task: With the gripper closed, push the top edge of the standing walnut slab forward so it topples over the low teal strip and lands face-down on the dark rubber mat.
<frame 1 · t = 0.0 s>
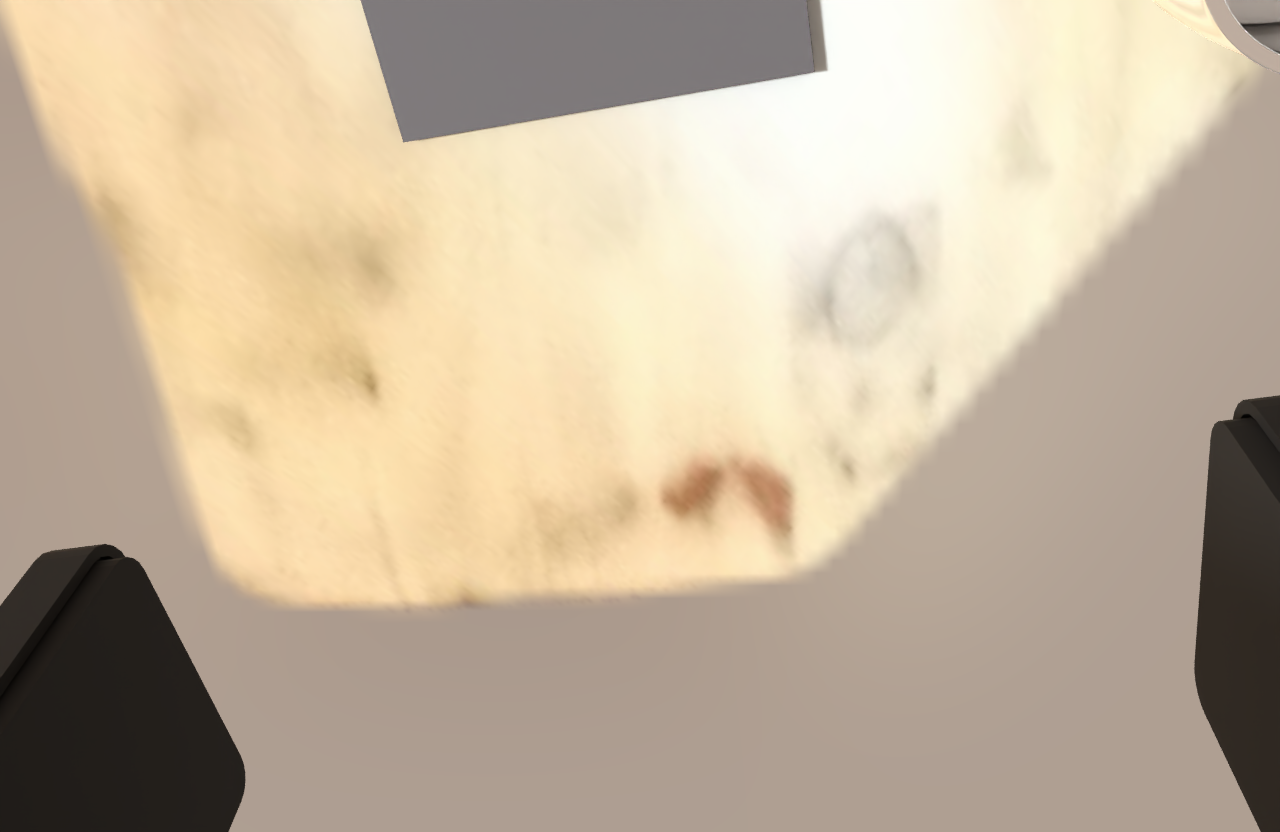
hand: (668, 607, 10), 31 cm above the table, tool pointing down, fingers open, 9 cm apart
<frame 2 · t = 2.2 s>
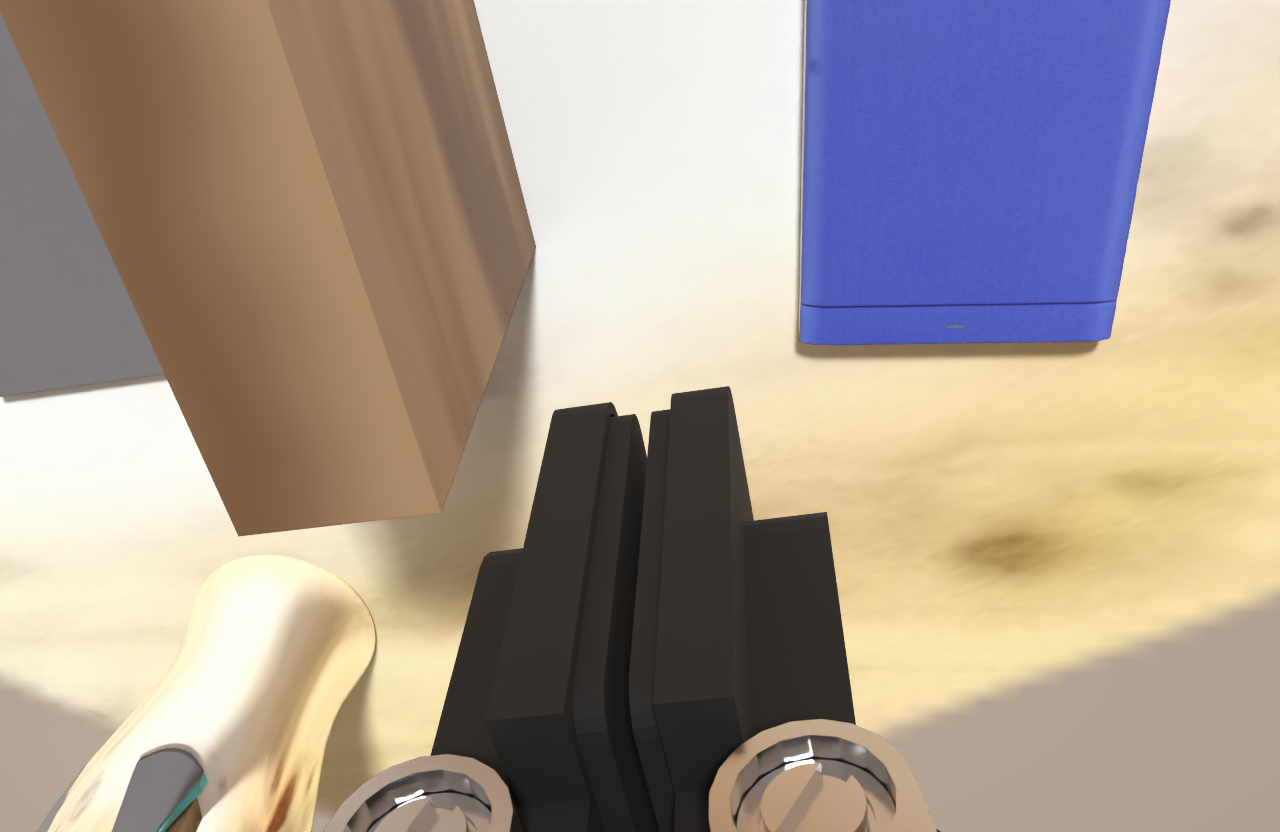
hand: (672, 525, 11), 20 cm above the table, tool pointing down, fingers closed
hard drive: (965, 93, 30), on the table
slab: (412, 75, 30), on the table
beer glass: (288, 619, 40), on the table
mat: (67, 136, 31), on the table
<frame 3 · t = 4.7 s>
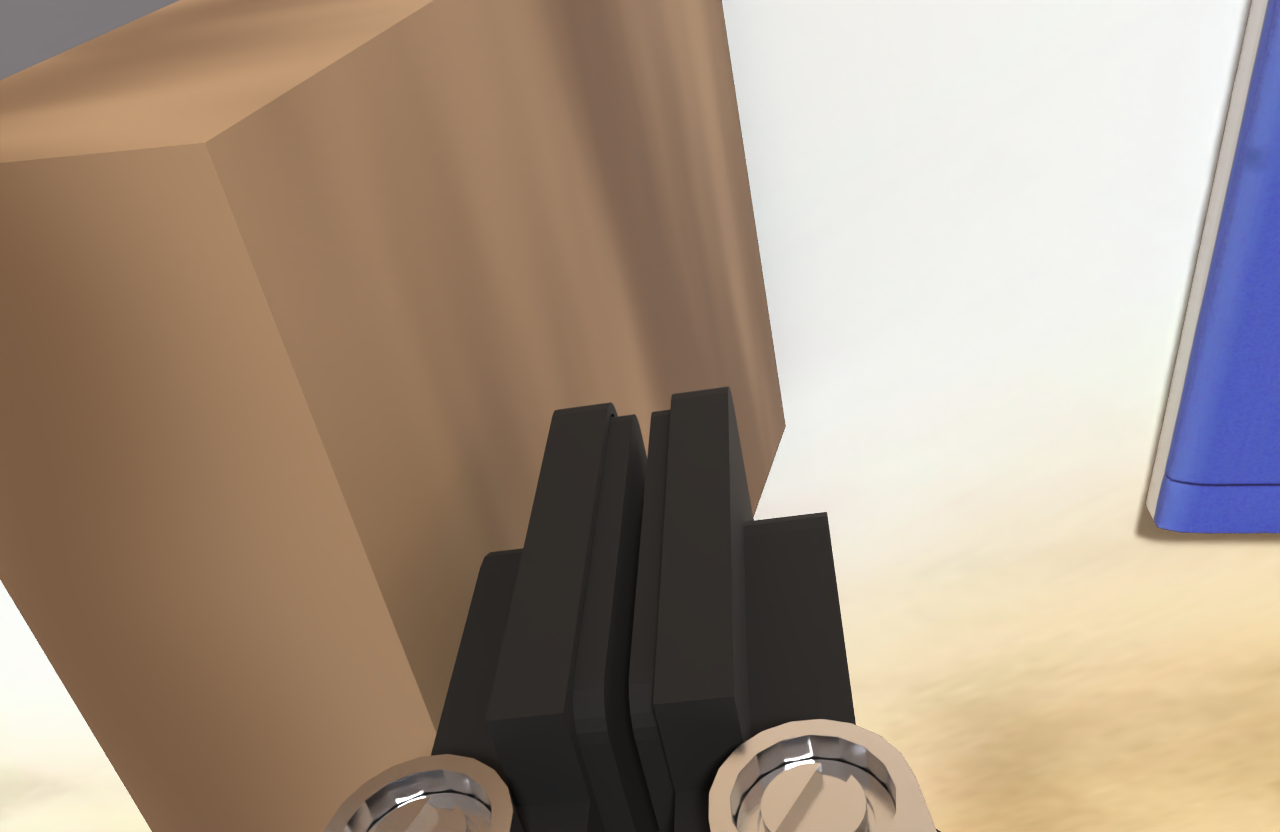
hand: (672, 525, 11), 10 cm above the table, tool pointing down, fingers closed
slab: (632, 178, 20), on the table, tilted 14°
mat: (130, 251, 22), on the table
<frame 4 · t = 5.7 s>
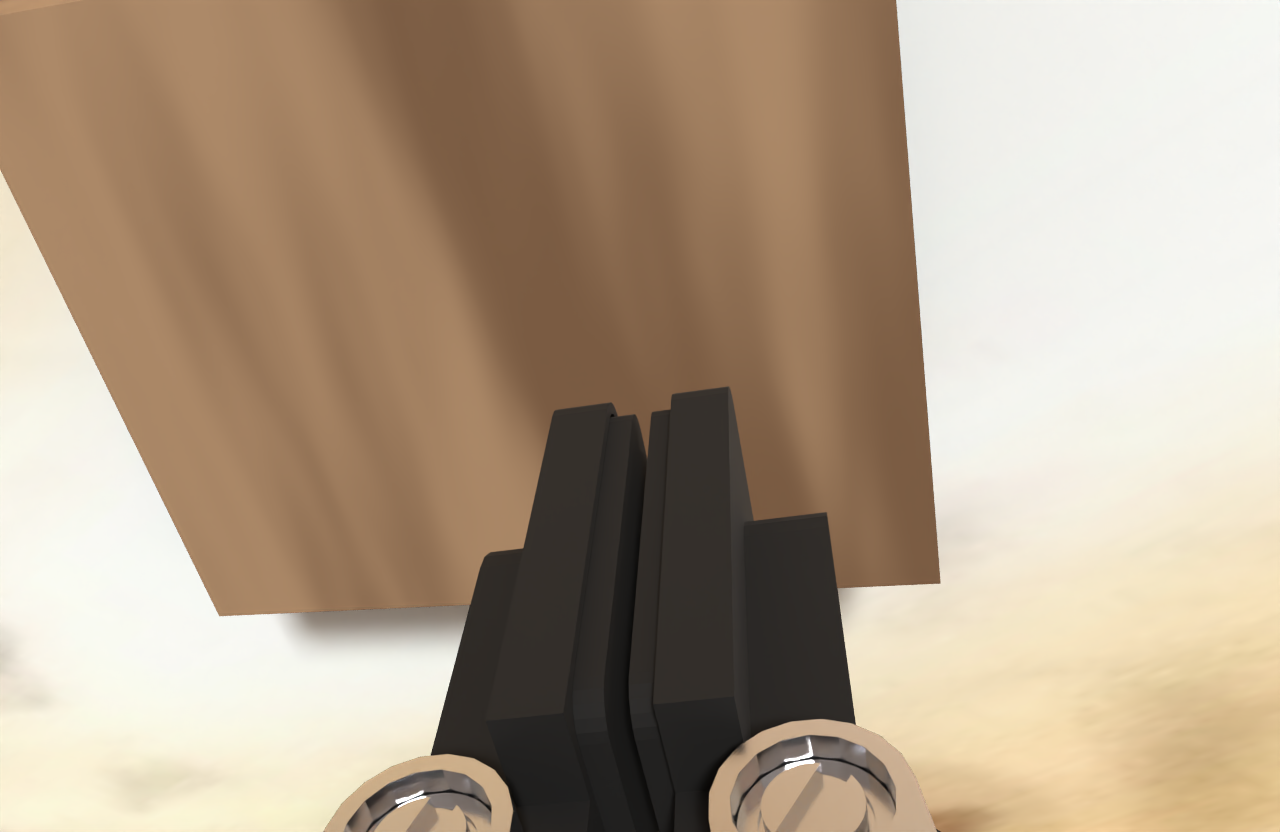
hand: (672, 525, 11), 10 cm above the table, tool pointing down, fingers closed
slab: (911, 217, 17), point 4 cm above the table, tilted 96°, touching mat, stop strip
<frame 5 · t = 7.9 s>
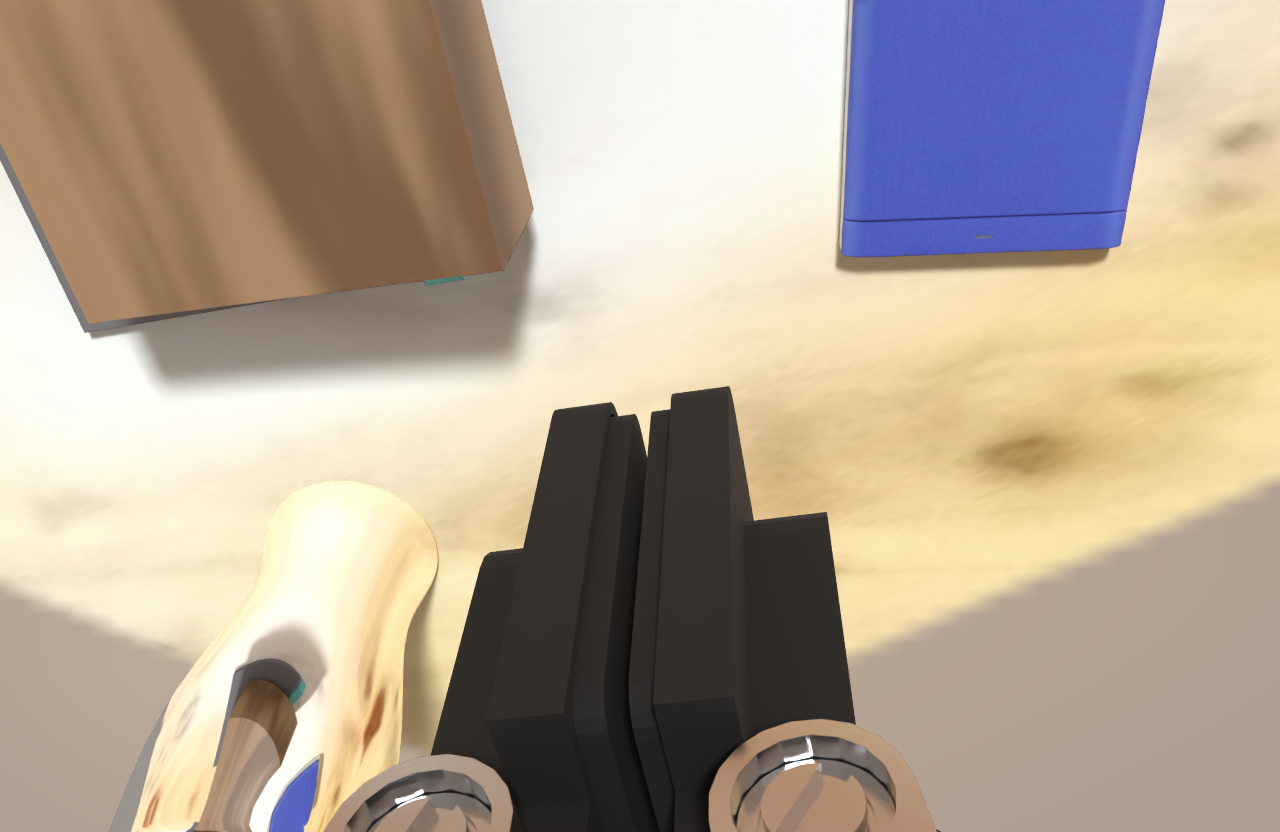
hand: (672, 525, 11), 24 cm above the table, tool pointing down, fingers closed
hard drive: (992, 23, 33), on the table
slab: (471, 53, 29), point 4 cm above the table, tilted 96°, touching mat, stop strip
beer glass: (354, 544, 42), on the table
mat: (165, 78, 33), on the table
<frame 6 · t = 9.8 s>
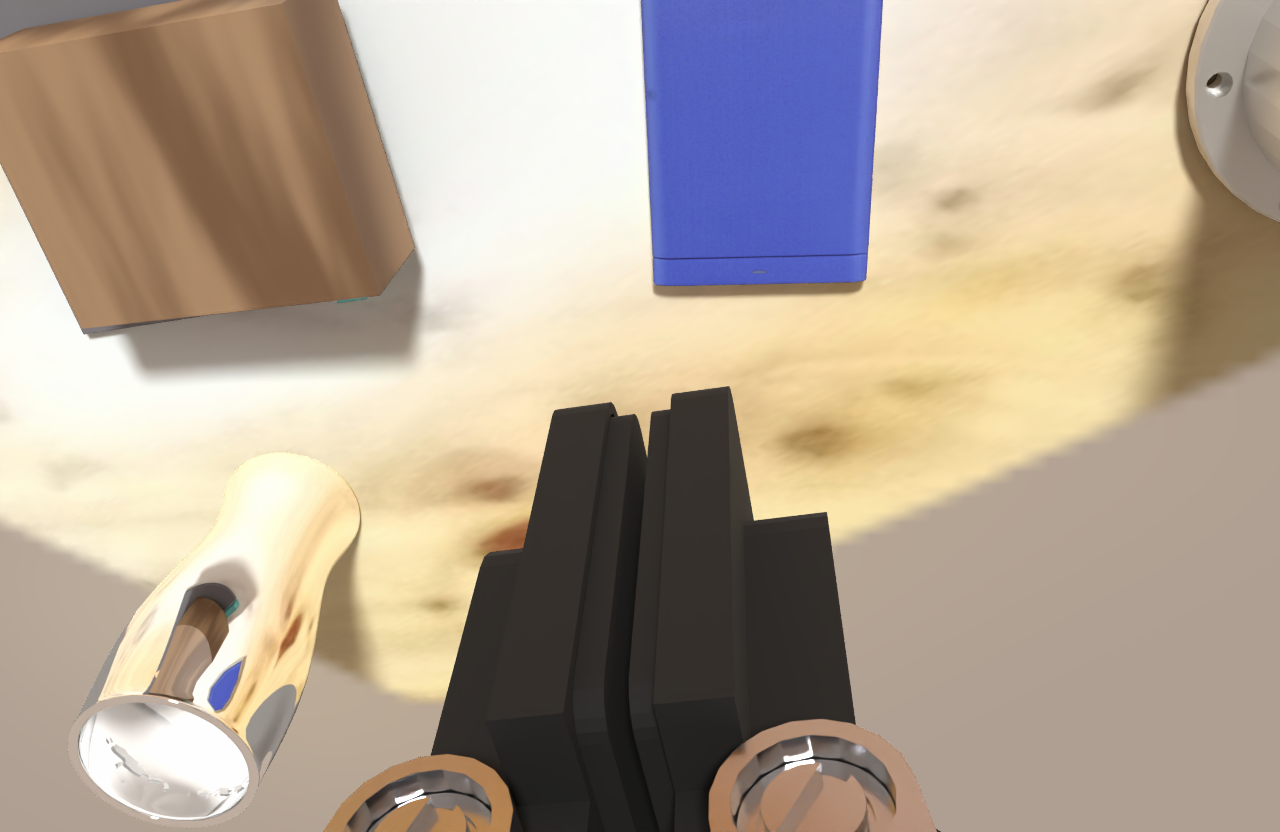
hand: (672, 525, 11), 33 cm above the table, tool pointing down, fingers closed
hard drive: (759, 111, 44), on the table
slab: (354, 138, 40), point 4 cm above the table, tilted 96°, touching mat, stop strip
beer glass: (295, 504, 54), on the table
mat: (142, 146, 45), on the table
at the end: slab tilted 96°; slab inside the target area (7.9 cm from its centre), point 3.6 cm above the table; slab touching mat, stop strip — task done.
